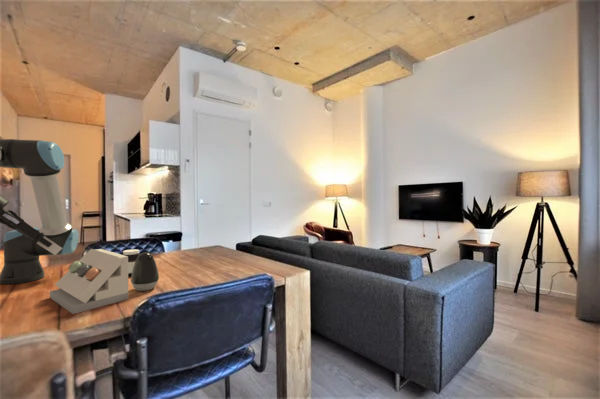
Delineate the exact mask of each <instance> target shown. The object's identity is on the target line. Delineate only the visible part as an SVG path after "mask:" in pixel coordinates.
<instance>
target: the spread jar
mask: <svg viewBox="0 0 600 399" xmlns="http://www.w3.org/2000/svg"><path fill="white" fill-rule="evenodd" d="M122 253H123V254H122V255H124V256H128V277H131V276H132V271H133V267H134V264H135V261H136V259H137V258H138V256H139V255H140V254H141V253H140V250H139V249H126V250H123V251H122Z"/></svg>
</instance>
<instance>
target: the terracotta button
mask: <svg viewBox="0 0 600 399" xmlns="http://www.w3.org/2000/svg"><path fill="white" fill-rule="evenodd" d="M99 273H100V271H99V270H98V269H96V268H95V267H93V268H91V269H90V270H88V271H87V273H86V274H85V277H86V278H87V279H89V280H90V281H93V280H94V278H95V277H96V276H97V275H98V274H99Z"/></svg>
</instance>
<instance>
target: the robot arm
mask: <svg viewBox="0 0 600 399" xmlns="http://www.w3.org/2000/svg"><path fill="white" fill-rule="evenodd" d="M64 166H65V156H64V152H63V150H62V148H61V147H60V145H58V144H57V143H56V142H54V141H48V140H40V139H39V140H38V139H37V140H36V139H35V140H34V139H16V138H15V139H13V138H6V139H5V138H4V139H0V168H9V169H22V170H23V172H24V176H26V177H28V178H30V181H31V185H32V189H33V193H34V197H35V201H36V205H37V209H38V213H39V217H40V223H41V227H40V228H39V227H37V226H36V227H33V226H32V225H30V224H28V223H27V222H26V221H25V220H24V219H23V218H21V217H20V216H19V215H17V213H16V212H14V211H13V210H8V211H7V210H6V209H5V207H6V206H7V205H8V204H9V202H10V201H9V200H8V199H7V198H6V197H4V196H3V195H1V194H0V224H2V225H5V226H6V227H8V228H10V229H12V230H10V231H6V232H5V233H4V235H3V241H2V243H3V267H2V269H1V271H0V285H16V284H23V283H29V282H34V281H38V280H41V279H43V278H45V270H44V267H43V265H42V263H41V262H40V256H42V257H43V256H56V255H59V256H60V255H61V256H63V255H70V254H73V253H74V252H75V251H76V249H77V248H78V244H79V238H80V236H79V234H80V233H79V231H78V229H77V228H76V229H75V228H72V224H71V223H69V222H67V218H66V213H65V209H64V204H63V198H62V195H61V189H60V184H59V179H58V175H59V174H60V173H61V170H62V169H63V168H64Z"/></svg>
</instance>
